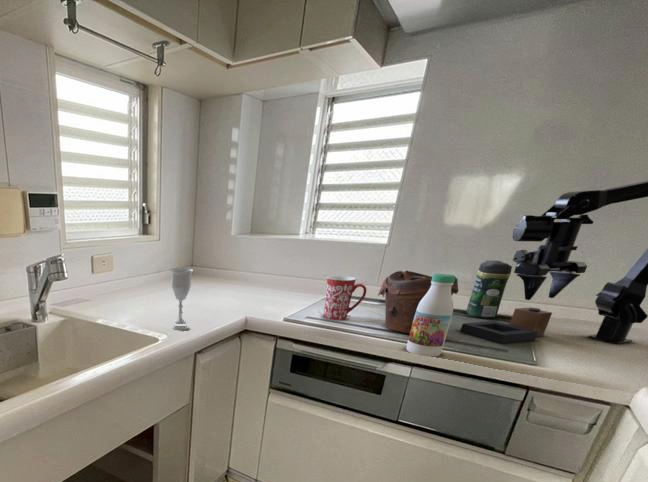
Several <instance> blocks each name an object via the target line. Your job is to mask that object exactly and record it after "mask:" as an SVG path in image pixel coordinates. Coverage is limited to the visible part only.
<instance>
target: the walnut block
mask: <svg viewBox="0 0 648 482" xmlns="http://www.w3.org/2000/svg"><path fill="white" fill-rule="evenodd" d="M552 315H553V312H551V311H547V310H542V309H541V308H538V307H531V306H529V307H519V308H514V311H513V314H512V316H511V319H510V322H509V325H513V326H517V327H521V328H525V329H529V330H533V331H537V332H538V333H537V335H536V338H537V337H543V336H545V332H546V329H547V327H548V325H549V323H550V319H551V317H552Z"/></svg>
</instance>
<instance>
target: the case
mask: <svg viewBox="0 0 648 482" xmlns="http://www.w3.org/2000/svg"><path fill="white" fill-rule="evenodd" d="M448 274H449V273H448ZM449 275H451V274H449ZM454 276H455V281H454V282H453V285H452V287H451V295H452V296H453V294H455V295H456V294H458V293H459V283H458V282H459V280H458V278H457V276H456V275H454ZM431 281H432V276H431V275H427V274H423V273H420V272H415V271H409V270H407V269H404V270H397V271H394V272H392V273H390V274H389V275H388V276H386V277H385V279H384V280H383V281H382V284H381V287H380V289H379V292H378V294H377V296H380V295H381V296H382V298H385V299H384V300H385V301H384V302H385V304H384V305H385V308H384V309H385V310H384V311H385V313H384V314H385V318H384V319H385V321H384V324H385V327H386V328H387V329H389V330H391V331H395V332H398V333H403V334H409V335H410V331H411V328H412V324H413V320H414V317H415V313H416V310H417V307H418V305H419V303H420V301H421V300H422V298H423V297H424V296H425V295H426V294H427V292H428V291H429V289H430V287H431V284H432V283H431Z"/></svg>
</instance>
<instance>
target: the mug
mask: <svg viewBox="0 0 648 482" xmlns="http://www.w3.org/2000/svg"><path fill="white" fill-rule="evenodd" d="M356 280H357V278H356V277H353V276H346V275H331V276H329V275H328V276H327V277H326V289H325V297H324V298H325V299H324V308H323V318H325V319H327V320H335V321H339V320H340V321H342V320H346V319H347V318H348V314H349V313H351V312H352V311H353V310H354V309H355V308H356V307H357V306H359V305H360V303H361V302H363V300H364V299H365V297H366V295H367V287H366V285H364V284H363V283H356ZM355 283H356V284H355ZM358 288H362V290H363V291H362V292H363V293H362V295H361V297H360V298H359V299H358V300H357V302H356V303H354V304H353V305H352V306H351V307H350V304H351V300H352V296H353V293H354V292H355V291H356V289H358Z"/></svg>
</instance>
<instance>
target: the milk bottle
mask: <svg viewBox="0 0 648 482" xmlns="http://www.w3.org/2000/svg"><path fill="white" fill-rule="evenodd" d="M455 276H456V275H454V274H450V275H449V273H434V274H432V276H431V277H432V281H431V283H432V284H431V287H430V289H429V291H428V292H427V294H426V295H425V296H424V297H423V298H422V300H421V301H420V303H419V305H418V307H417V310H416V313H415V317H414V320H413V324H412V328H411V331H410V334H409V335H408V340H407V344H406V351H407V352H408V353H410V354H413V355H417V356H421V357H429V358H430V357H432V358H433V357H434V358H435V357H439V356H440V355H441V354H442V352H443V349H444V345H445V341H446V339H447V335H448V332H449V327H450V324H451V321H452V317H453V314H454V301H453V300H454V299H453V295H451V287H452V285H453V282H454V281H455Z"/></svg>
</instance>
